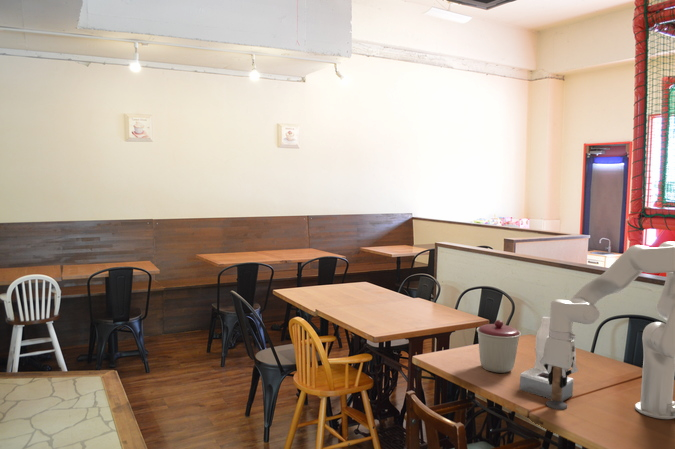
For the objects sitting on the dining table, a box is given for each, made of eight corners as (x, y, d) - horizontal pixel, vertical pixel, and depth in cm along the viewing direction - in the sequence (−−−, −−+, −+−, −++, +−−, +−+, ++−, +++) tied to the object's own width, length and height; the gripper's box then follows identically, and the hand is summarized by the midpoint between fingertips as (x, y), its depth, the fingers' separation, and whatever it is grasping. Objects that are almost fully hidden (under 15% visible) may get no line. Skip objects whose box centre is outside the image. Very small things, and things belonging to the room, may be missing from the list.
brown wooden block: (563, 399, 193) (565, 361, 192) (559, 401, 191) (561, 363, 190) (553, 396, 195) (556, 358, 194) (549, 399, 193) (551, 360, 192)
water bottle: (553, 381, 217) (557, 320, 215) (535, 379, 219) (538, 319, 217) (550, 375, 224) (553, 316, 222) (532, 373, 226) (535, 314, 224)
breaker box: (572, 395, 203) (573, 378, 203) (561, 402, 196) (562, 385, 196) (531, 383, 214) (532, 367, 214) (519, 389, 207) (520, 373, 207)
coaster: (570, 405, 193) (570, 404, 193) (562, 411, 188) (562, 409, 188) (551, 400, 198) (551, 398, 198) (542, 405, 193) (542, 403, 193)
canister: (475, 360, 242) (477, 313, 240) (517, 364, 237) (520, 317, 235) (474, 373, 224) (476, 323, 223) (520, 378, 220) (522, 327, 218)
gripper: (588, 338, 188) (585, 389, 189) (542, 328, 200) (539, 376, 201) (579, 342, 183) (576, 395, 184) (533, 331, 194) (530, 381, 196)
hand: (557, 384), depth 193 cm, fingers closed on brown wooden block, 3 cm apart
